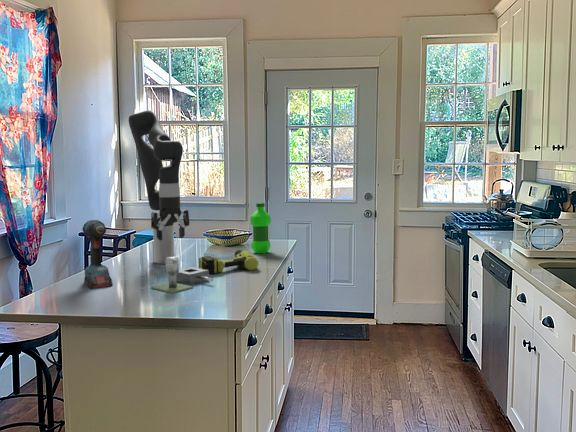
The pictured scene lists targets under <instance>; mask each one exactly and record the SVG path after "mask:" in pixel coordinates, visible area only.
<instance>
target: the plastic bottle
mask: <svg viewBox="0 0 576 432" xmlns="http://www.w3.org/2000/svg"><path fill="white" fill-rule="evenodd" d="M255 203H256V204H255V206H256V208H257V209H256V210H255V211H254V212H253V213H252V214H251V215H250V224H251V226H252V234H253V235H252V237H253V239H252V241H251V249H252V250H253V252H255V254H258V253H263V254H266V253H267V252H269V251H270V249H271V242H270V240H269V226H270V225H271V222H272V218H271V215H270V214H269V212H267V211H265V210H264V207H265V206H266V205H265V202H255Z"/></svg>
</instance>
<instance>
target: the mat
mask: <svg viewBox="0 0 576 432" xmlns="http://www.w3.org/2000/svg"><path fill="white" fill-rule="evenodd" d="M150 288H151V289H153V290H156V291H160V292H165V293H169V294H175V293H178V292H179V293H180V292H184V291H187V290H190V289H194V286H193V285H189V284H184V283H180V282H177V287H175V288H169V282H166V283H162V284H159V285H154V286H151V287H150Z"/></svg>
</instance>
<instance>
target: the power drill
mask: <svg viewBox="0 0 576 432" xmlns="http://www.w3.org/2000/svg"><path fill="white" fill-rule="evenodd" d="M82 232H83V233H84V234H85V236H86V238H87V239H88V240H89V244H90V248H89V253H90V254H89V255H90V257H89V258H90V264H89V265H88V266H86V267H85V270H84V281H83V282H84V283H85V285H86V287H88V289H95V288H96V289H97V288H102V287H103V288H104V287H112V286H113V284H114V283H113V280H112V278H111V275H110V272H109V268H108V267H107V266H106V265H103V264H102V252H101V249H102V248H101V239H102V238H103V236H104V234H106V232H107V227H106V225H105V223H103V222H102V221H100V220H98V219H90V220H87V221H86V222H85V223H84V224H83V226H82Z"/></svg>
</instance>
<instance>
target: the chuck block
mask: <svg viewBox="0 0 576 432" xmlns="http://www.w3.org/2000/svg"><path fill="white" fill-rule="evenodd" d="M206 281H209V282H213V281H214V278H213V277H210V275H209V270H205V269H200V268H199V267H192V266H191V267H185V268H182V269H181V268H180V269H179V272H178V273H177V283H179V284H184V285H188V286H192V285H194V284H198V283H204V282H206Z"/></svg>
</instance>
